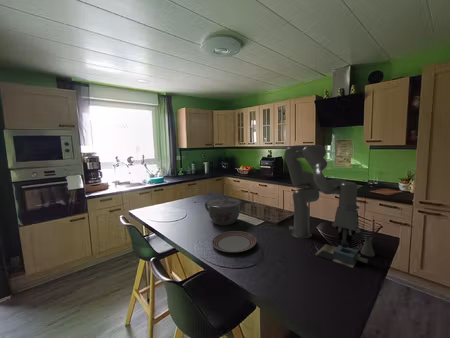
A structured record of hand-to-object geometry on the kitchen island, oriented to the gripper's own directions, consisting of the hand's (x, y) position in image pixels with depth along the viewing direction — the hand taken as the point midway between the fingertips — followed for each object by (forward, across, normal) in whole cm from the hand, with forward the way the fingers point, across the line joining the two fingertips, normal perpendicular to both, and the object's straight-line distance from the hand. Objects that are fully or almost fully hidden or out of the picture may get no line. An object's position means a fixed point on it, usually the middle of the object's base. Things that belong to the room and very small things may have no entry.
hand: (344, 240), depth 108 cm
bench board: (+11, +3, -1) cm, 11 cm away
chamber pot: (+13, +85, +4) cm, 86 cm away
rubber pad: (+10, +7, +4) cm, 13 cm away
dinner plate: (+12, +54, +26) cm, 61 cm away
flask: (+11, -8, -13) cm, 19 cm away
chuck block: (+9, -3, 0) cm, 10 cm away
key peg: (+4, 0, 0) cm, 4 cm away
